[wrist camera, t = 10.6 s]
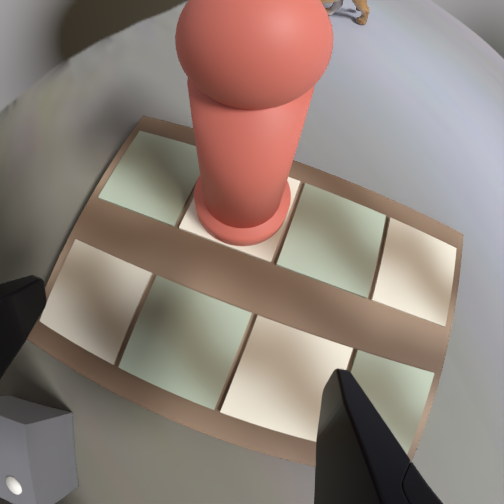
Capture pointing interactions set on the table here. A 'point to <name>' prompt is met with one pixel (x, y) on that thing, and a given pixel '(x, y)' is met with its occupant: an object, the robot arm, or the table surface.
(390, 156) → the table surface
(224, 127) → the pawn
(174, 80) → the table surface
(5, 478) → the die
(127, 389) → the board
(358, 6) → the lion figurine
